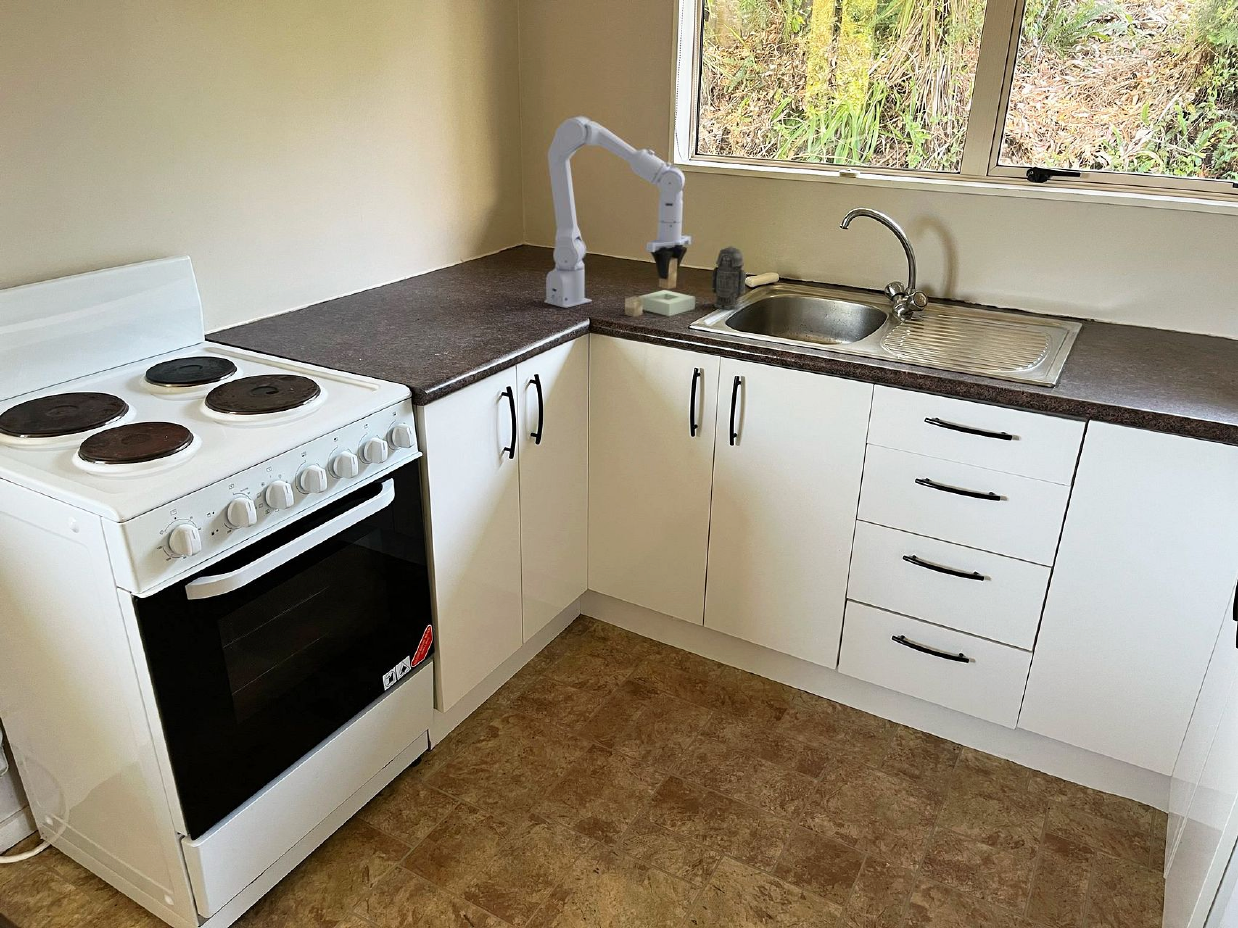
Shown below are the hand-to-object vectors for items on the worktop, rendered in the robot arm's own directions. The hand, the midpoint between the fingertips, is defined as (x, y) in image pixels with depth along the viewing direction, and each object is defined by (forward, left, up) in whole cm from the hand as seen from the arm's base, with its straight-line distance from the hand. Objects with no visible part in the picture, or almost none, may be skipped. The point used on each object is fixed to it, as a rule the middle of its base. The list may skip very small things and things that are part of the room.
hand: (667, 277), depth 227 cm
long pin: (0, 0, -2) cm, 2 cm away
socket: (0, 0, -8) cm, 8 cm away
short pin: (-10, +2, -8) cm, 13 cm away
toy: (+13, -9, -8) cm, 18 cm away
